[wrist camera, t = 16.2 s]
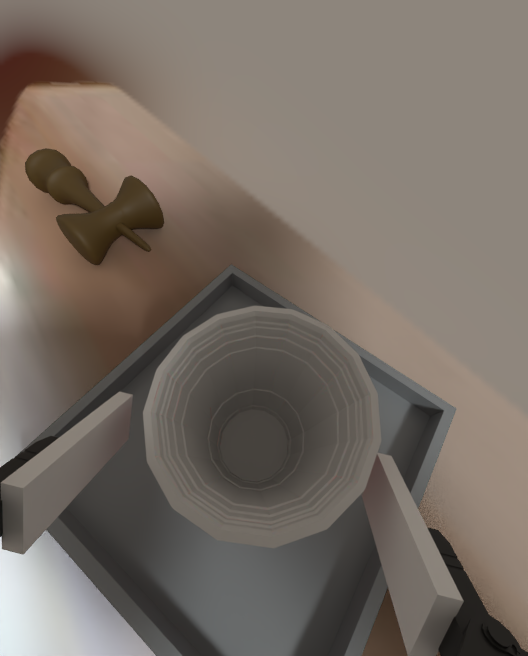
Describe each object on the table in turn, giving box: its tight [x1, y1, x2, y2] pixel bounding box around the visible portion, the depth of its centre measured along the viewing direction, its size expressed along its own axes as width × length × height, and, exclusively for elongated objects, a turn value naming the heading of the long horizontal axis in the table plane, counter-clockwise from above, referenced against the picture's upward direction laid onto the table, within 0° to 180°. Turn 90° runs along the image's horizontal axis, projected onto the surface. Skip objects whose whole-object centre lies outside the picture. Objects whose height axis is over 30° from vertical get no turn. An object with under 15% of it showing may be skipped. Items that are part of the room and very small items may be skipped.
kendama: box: [25, 149, 164, 265], centre depth 34 cm, size 6×10×20 cm
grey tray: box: [19, 265, 456, 656], centre depth 23 cm, size 24×24×3 cm
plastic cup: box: [143, 306, 381, 548], centre depth 18 cm, size 11×11×12 cm
